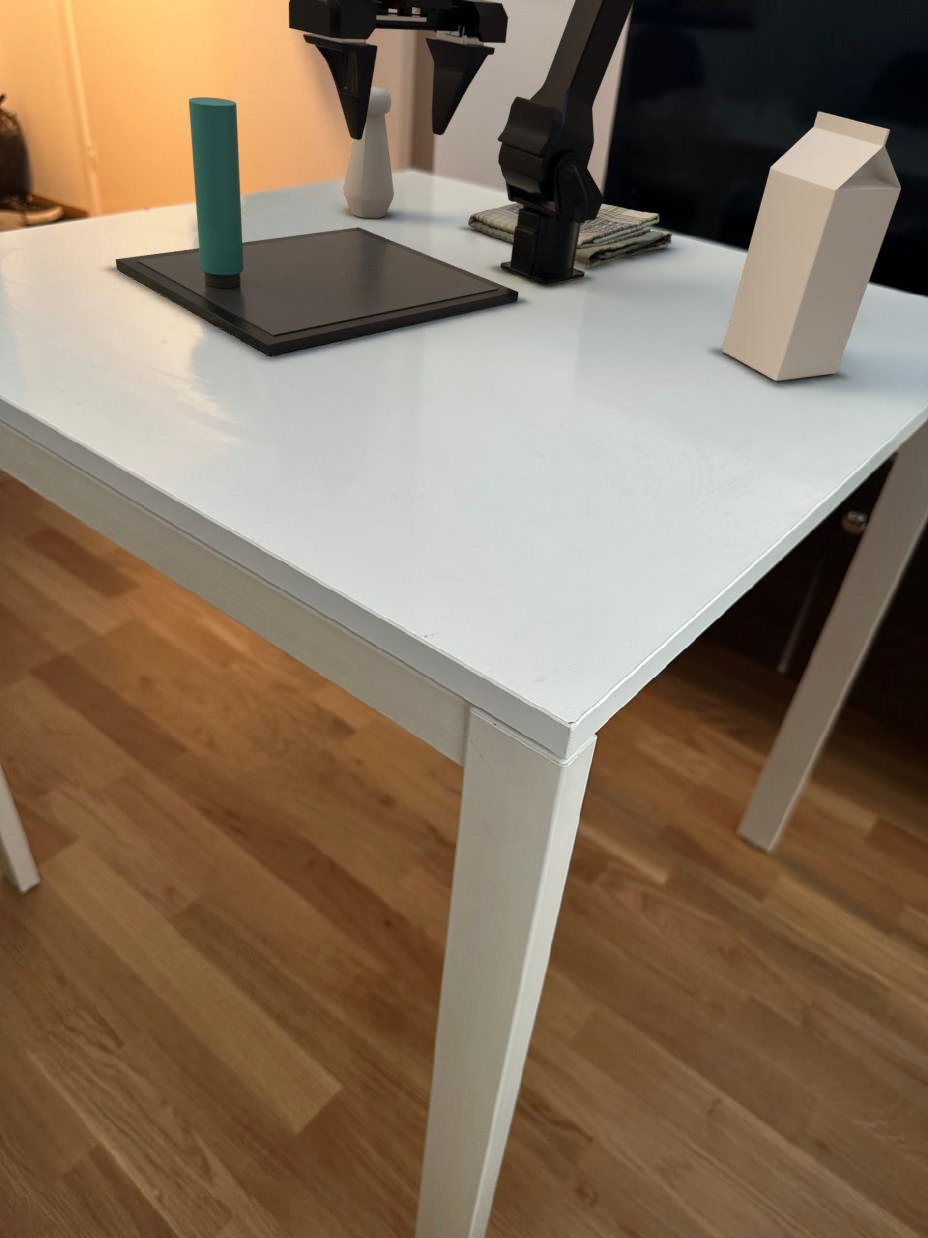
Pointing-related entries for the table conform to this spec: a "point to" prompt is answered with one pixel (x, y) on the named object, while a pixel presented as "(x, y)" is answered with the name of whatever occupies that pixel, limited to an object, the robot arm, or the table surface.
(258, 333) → the tablet
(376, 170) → the salt shaker
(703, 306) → the table surface
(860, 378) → the table surface
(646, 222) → the dish towel
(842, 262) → the milk carton
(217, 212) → the marker
